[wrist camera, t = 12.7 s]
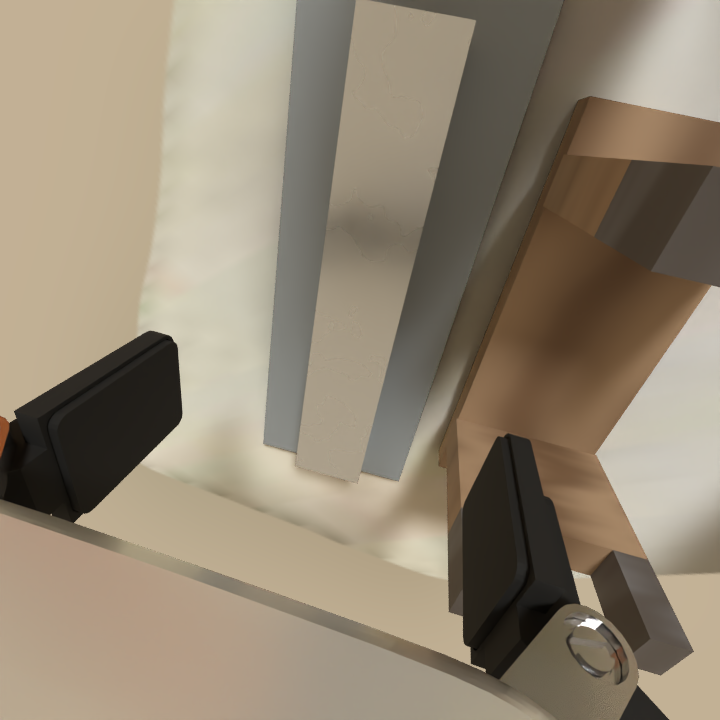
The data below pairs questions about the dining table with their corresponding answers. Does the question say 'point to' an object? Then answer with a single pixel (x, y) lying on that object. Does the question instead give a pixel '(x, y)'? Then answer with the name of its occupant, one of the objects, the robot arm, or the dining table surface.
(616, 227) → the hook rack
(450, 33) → the steel bar
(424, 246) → the rubber mat
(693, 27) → the dining table surface
